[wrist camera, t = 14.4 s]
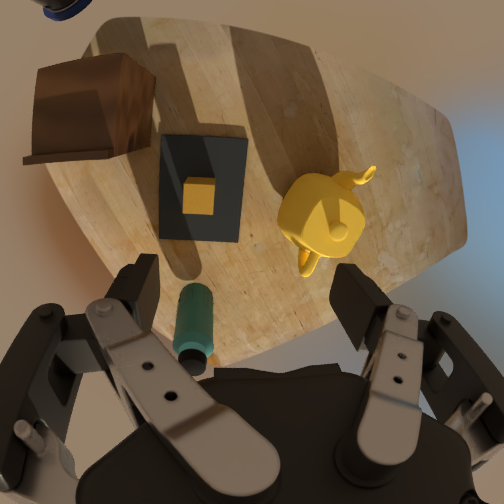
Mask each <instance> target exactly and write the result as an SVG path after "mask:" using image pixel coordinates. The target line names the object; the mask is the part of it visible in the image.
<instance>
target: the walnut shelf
mask: <svg viewBox="0 0 504 504" xmlns="http://www.w3.org/2000/svg"><path fill="white" fill-rule="evenodd" d="M155 82H156V77H155V76H154V75H153V74H151V73H150V72H149V71H147V70H146V69H145V68H144V67H142V66H141V65H140V64H138V63H137V62H136V61H134V60H133V59H132V58H130V57H129V56H128V55H126V54H125V53H124V52H123V53H115V54H107V55H100V56H94V57H88V58H83V59H78V60H73V61H68V62H64V63H60V64H56V65H52V66H48V67H44V68H41V69H38V72H37V79H36V86H35V95H34V106H33V121H32V155H30V156H26V157H23V165H32V164H42V163H53V162H65V161H80V160H100V159H109V158H112V157H116V156H119V155H122V154H126V153H129V152H132V151H136V150H139V149H143V148H147V147H150V137H151V123H152V111H153V100H154V91H155Z"/></svg>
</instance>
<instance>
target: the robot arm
mask: <svg viewBox="0 0 504 504" xmlns="http://www.w3.org/2000/svg"><path fill="white" fill-rule="evenodd" d="M32 1H34V2H36V3H37V4H39V5H41V6H43V8H44V7H45V8H46V9H48V10H49V11H51V12H53V13H60V12H63V11H66V10H68V9H70V8H71V7H73V6H74V5H75V4H77V3H78V2H79V1H80V0H32ZM159 298H160V277H159V258H158V255H157V254H143V253H141V254H140V255H139V257H138V259H137V261H136V263H135V264H128V265H126V266H125V267H123V268H122V269H121V270H120V271H119V273H118V275H117V277H116V278H115V280H114V283H112V285H111V287H110V288H109V290H108V292H107V294H106V295H105V297H104V298H102V299H98V300H96V301H93V302H92V303H90V304H89V305H88V306H87V308H86V311H85V312H86V313H84V314H76V315H67V316H65V312H64V309H63V308H62V306H60V305H58V304H55V303H48V304H44V305H41V306H39V307H37V308H36V309H34V310H33V311H32V313H31V314H30V316H29V317H28V319H27V320H26V322H25V323H24V325H23V326H22V328H21V330H20V331H19V333H18V334H17V336H16V338H15V339H14V341H13V343H12V344H11V346H10V348H9V350H8V351H7V353H6V355H5V356H4V358H3V360H2V362H1V364H0V492H1V493H2V494H4V495H5V496H7V497H8V498H10V499H12V500H13V501H15V502H17V503H19V504H488V503H486V502H484V501H482V500H481V499H480V498H479V497H478V495H477V493H476V491H475V487H474V483H473V477H472V472H473V471H476V470H477V469H478V468H480V467H481V466H482V465H483V464H485V463H486V462H487V461H488V460H490V459H491V458H492V457H493V456H494V455H495V454H497V453H498V452H499V451H500V450H501V449H502V448H503V447H504V377H503V376H502V375H501V373H500V372H499V371H498V369H497V368H496V367H495V365H494V364H493V363H492V362H491V360H490V359H489V358H488V357H487V355H486V354H485V353H484V352H483V350H482V349H481V348H480V347H479V346H478V344H477V343H476V342H475V341H474V339H473V338H472V337H471V336H470V335H469V334H468V333H467V331H466V330H465V329H464V328H463V327H462V326H461V324H460V323H459V322H458V321H457V320H456V319H455V318H454V317H453V316H451V315H450V314H448V313H445V312H442V311H436V312H434V313H433V315H432V317H431V319H430V321H426V320H419V319H418V316H417V314H416V313H415V312H414V311H413V310H412V309H410V308H408V307H406V306H404V305H400V304H393V303H392V302H391V301H390V299H389V298H388V297H387V296H386V295H385V294H384V292H382V290H381V289H380V288H379V287H377V284H376V283H375V282H374V281H373V280H372V279H371V278H369V277H367V276H366V275H364V274H363V272H362V271H361V270H360V269H359V268H358V267H357V266H356V265H355V264H346V263H339V264H338V265H337V268H336V271H335V275H334V279H333V283H332V286H331V290H330V295H329V301H330V305H331V307H332V309H333V310H334V312H335V314H336V315H337V317H338V319H339V321H340V322H341V324H342V326H343V328H344V329H345V331H346V333H347V335H348V336H349V338H350V340H351V342H352V344H353V345H354V347H355V349H356V351H357V352H361V351H369V354H368V356H367V358H366V361H365V363H364V366H363V370H362V372H361V375H360V376H358V375H355V374H352V373H347V372H342V371H341V369H340V367H339V365H338V363H334V364H324V365H312V366H307V367H304V368H300V369H297V370H293V371H290V372H285V373H273V372H267V371H260V370H255V369H249V368H214V377H212V378H207V379H203V380H200V381H197V382H196V381H195V379H194V378H193V377H192V376H191V375H190V374H189V373H188V372H187V371H186V370H185V369H184V367H183V366H182V365H181V364H180V363H179V362H178V361H177V360H176V359H175V357H173V355H172V354H171V353H170V352H169V351H168V349H167V348H166V347H165V346H164V345H163V343H162V342H161V341H160V340H159V339H158V337H157V336H156V335H155V334H154V333H153V332H152V331H151V328H152V324H153V320H154V316H155V313H156V309H157V306H158V302H159ZM445 351H446V353H447V354H448V355H449V357H450V358H451V359H452V361H453V365H454V367H453V371H452V373H451V375H450V376H449V378H448V377H447V375H446V374H445V372H444V371H443V369H442V368H441V366H440V365H439V361H440V360H441V358H442V356H443V354H444V353H445ZM96 371H103V372H104V374H105V376H106V378H107V379H108V381H109V383H110V385H111V387H112V389H113V390H114V392H115V394H116V396H117V397H118V399H119V401H120V402H121V404H122V406H123V407H124V409H125V411H126V413H127V415H128V417H129V419H130V421H131V422H132V424H133V426H134V427H135V429H136V430H135V431H134V432H133V433H131V434H130V435H129V436H128V437H126V438H125V439H124V440H123V441H122V442H120V443H119V444H118V445H117V446H115V447H114V448H113V449H112V450H110V451H109V452H108V453H107V454H106V455H104V456H103V457H102V458H101V459H100V460H98V461H97V462H96V463H94V464H93V465H91V467H89V468H88V469H87V470H86V471H85V472H84V474H83V475H82V476H81V478H80V479H78V478H77V476H76V475H75V462H74V458H73V455H72V454H71V452H70V451H69V450H68V449H67V448H66V446H65V445H64V443H65V438H66V434H67V430H68V426H69V422H70V418H71V414H72V410H73V406H74V403H75V399H76V396H77V392H78V389H79V386H80V382H81V379H82V376H83V373H87V372H96ZM420 389H421V391H422V393H423V395H424V396H425V398H426V400H427V402H428V404H429V405H430V407H431V409H432V411H433V413H434V415H435V417H436V419H437V420H436V419H434V418H432V417H430V416H429V415H427V414H425V413H423V412H422V410H421V408H420V407H419V406H418V402H419V394H420Z"/></svg>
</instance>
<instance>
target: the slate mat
mask: <svg viewBox="0 0 504 504" xmlns="http://www.w3.org/2000/svg"><path fill="white" fill-rule="evenodd" d="M247 148H248V139H240V138H228V137H212V136H191V135H162V140H161V157H160V183H159V239H177V240H197V241H216V242H235V243H238V238H239V227H240V217H241V206H242V196H243V186H244V177H245V167H246V157H247ZM188 177H204V178H215V191H214V206H213V215H208V214H187V213H183V189H184V183H185V181H186V179H187V178H188Z"/></svg>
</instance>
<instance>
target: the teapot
mask: <svg viewBox="0 0 504 504" xmlns="http://www.w3.org/2000/svg"><path fill="white" fill-rule="evenodd" d="M375 171H376V167H375V166H371V167H369V168H368V169H367V170H365V171H364V172H362V173H354V172H350V171H341V172H338V173H336V174H335V175H333V176H332V177H329V176H326V175H323V174H317V173H308V174H305V175H302V176H300V177H299V178H298V179H297V180H296V181H295V182H294V183H293V185H292V186H291V187H290V189H289V190H288V192H287V194H286V195H285V197H284V199H283V202H282V204H281V207H280V209H279V213H278V218H277V221H278V226H279V228H280V230H281V231H282V233H283V234H284V235H285V236H286V237H287V238H288V239H289V240H290V241H291V242H292V243H294V244H295V245H296V246H298V247H299V255H298V268H299V273H300V275H301V276H303V277H308V276H309V275H310V274H311V273H312V272H313V270H314V268H315V266H316V264H317V262H318V260H319V258H320V256H325V257H332V258H339V257H343V256H345V255H347V254H348V253H349V252H350V251H351V249H352V248H353V247H354V245H355V244H356V242H357V240H358V239H359V237H360V235H361V233H362V231H363V229H364V226H365V214H364V210H363V207H362V205H361V203H360V201H359V200H358V198H357V197H356V196H355V195H354V194H353V192H352V191H351V190H352V188H353V187H354V186H356V185H357V184H363V183H365V182H367V181H369V180H370V179H371V178H372V177H373V175H374V173H375ZM308 252H309V253H310V254H309V257H308Z"/></svg>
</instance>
